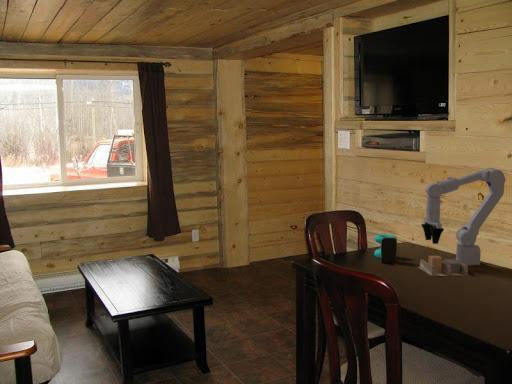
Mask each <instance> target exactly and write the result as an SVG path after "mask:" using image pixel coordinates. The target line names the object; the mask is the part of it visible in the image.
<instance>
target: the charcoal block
mask: <svg viewBox="0 0 512 384" xmlns="http://www.w3.org/2000/svg"><path fill="white" fill-rule="evenodd" d="M453 259H454V258H450V259H448V258H446V259H445V258H444V259H442V261H443V262H444V263H446V264H448V265H450V266H451V273H460V263H459V262H457V261H455V260H453Z"/></svg>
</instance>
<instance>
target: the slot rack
mask: <svg viewBox="0 0 512 384" xmlns="http://www.w3.org/2000/svg"><path fill="white" fill-rule="evenodd" d="M452 259H453V260H455V261H457V262H459V261H458V260H456V258H452ZM459 263H460V273H451V266H450V265H448V264H446V263H444V262H443V260H442V271H441V272H434V266H433V265H431V264H429V263H428V262H427V261H426V260H425V259H420V261H419V266H418V269H420V270H421V271H423V272H425V273H426V274H428V275H429V276H430V277H441V276H442V277H443V276H446V277H447V276H448V277H449V276H453V277H454V276H470V274H469V273H468V272H469V271H468V270H469V269H468V268H469V265H465V264H463V263H461V262H459Z"/></svg>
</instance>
